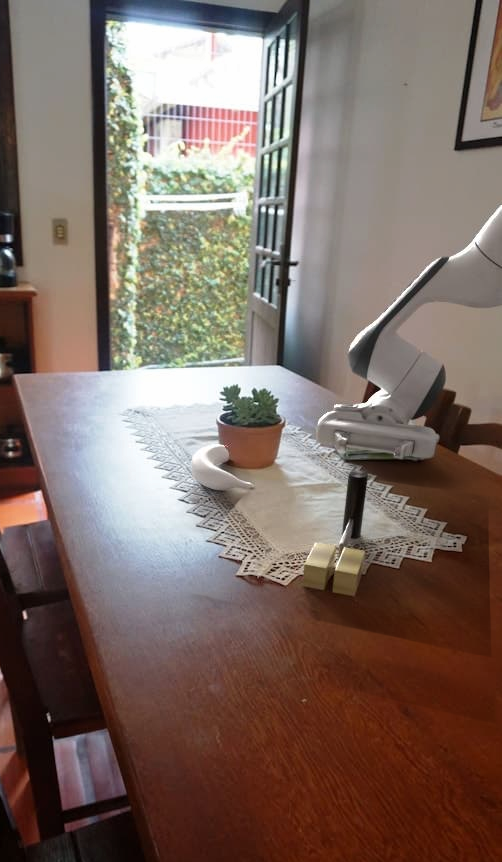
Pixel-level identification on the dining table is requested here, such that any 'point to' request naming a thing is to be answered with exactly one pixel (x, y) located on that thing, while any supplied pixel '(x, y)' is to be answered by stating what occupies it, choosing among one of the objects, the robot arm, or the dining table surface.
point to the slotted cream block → (345, 572)
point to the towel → (370, 454)
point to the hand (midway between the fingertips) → (369, 450)
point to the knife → (353, 508)
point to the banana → (214, 469)
